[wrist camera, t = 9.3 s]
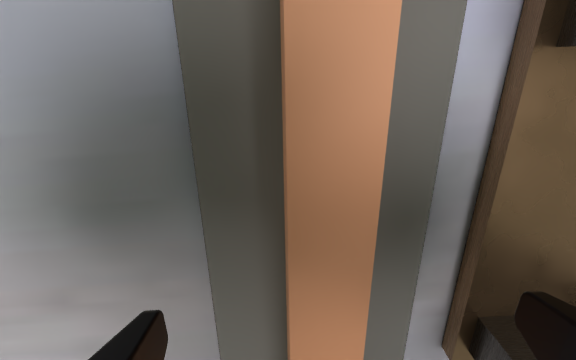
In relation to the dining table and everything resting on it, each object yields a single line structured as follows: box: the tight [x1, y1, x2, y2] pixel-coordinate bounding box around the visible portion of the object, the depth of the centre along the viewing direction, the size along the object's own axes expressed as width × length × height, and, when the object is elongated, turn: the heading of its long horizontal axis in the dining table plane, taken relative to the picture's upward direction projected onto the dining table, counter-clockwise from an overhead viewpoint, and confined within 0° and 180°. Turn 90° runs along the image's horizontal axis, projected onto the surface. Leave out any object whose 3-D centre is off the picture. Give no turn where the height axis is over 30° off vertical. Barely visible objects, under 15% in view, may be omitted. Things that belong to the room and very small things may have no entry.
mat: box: [172, 0, 467, 360], centre depth 13 cm, size 20×10×1 cm, turn 1°
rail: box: [280, 0, 402, 360], centre depth 12 cm, size 20×3×3 cm, turn 1°
